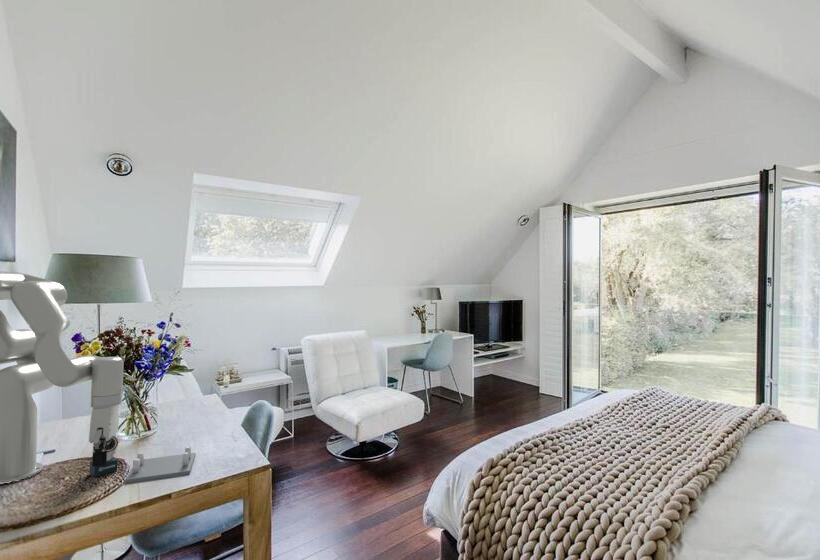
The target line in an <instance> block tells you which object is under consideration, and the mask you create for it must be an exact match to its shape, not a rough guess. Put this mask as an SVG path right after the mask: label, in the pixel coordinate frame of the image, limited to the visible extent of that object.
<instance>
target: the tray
mask: <svg viewBox="0 0 820 560" xmlns="http://www.w3.org/2000/svg"><path fill="white" fill-rule="evenodd" d="M191 447H192V446H186V447H185V448H184V452H183V453H182V454H175V455H167V456H160V457H151V458H145V459H144V457H145V452H142V451H140V452H138V453H137V454H136V456H137V458H134V459H133V460H132V468H131V469H130V471H129V473H128V474H127V476H126V477H125V479H124V484H128V483H129V484H130V483H137V482H144V481H145V482H146V481H151V480H157V479H165V478H166V479H167V478H173V477H178V476H180V477H181V476H184V475H186V476H187V475H190V474H191V471H192V468H193V465H194V462H195V458H196V452H192V451H191V450H192V448H191Z"/></svg>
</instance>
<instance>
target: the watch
mask: <svg viewBox="0 0 820 560" xmlns="http://www.w3.org/2000/svg"><path fill="white" fill-rule="evenodd" d="M101 440H105V439H101ZM119 443H120V440H118V438H117V436H116V437H114V435H113V437H112V438H111V439H110V440H109V441H107V445H106V450H107V462H106V465H103V466H95V467H93V466H92V460H91V461H90V462H89V474H91V475H92V476H93V477H95V478H96V477H98V476H102V475H106V474H109V473H112V472H116V471H118V464H119V462H118V461H119V460H118V459H117V458H116V457H115V456H114V454H115V453H116V452H115V451H116V450H117V448H118V446H119ZM100 444H102V446H103V444H104V443H100ZM106 450H105V451H106Z"/></svg>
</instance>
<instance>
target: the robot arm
mask: <svg viewBox="0 0 820 560" xmlns="http://www.w3.org/2000/svg"><path fill="white" fill-rule="evenodd" d="M0 300H2V301H3V300H6V301H7V300H9V301H10V300H11V302H12V303H13V305H14V307H16V309H17V311H18V312H19V314H20V315H21V317H22V318H23V320H24V321H25V323H26V324H27V326H28V327H29V329H26V328H19V329H14V328H13V327H12V326H11V325H10V323H9V321H8V318H7V317H6V314H4V312H3V311H2V310H1V309H0V365H4V364H11V363H16V365H15V364H13V365H10V366H6V367H4V368H1V369H0V482H9V481H15V480H20V479H24V478H27V477H29V476H32V475H34V474H36V473H38V472H40V471H41V470H42V469H43V470H44V464H43V463H41V462H37V452H38V451H37V446H38V445H37V444H38V443H37V442H38V407H37V404H36V402H35V400H34V399H33V396H32V395H34V394H37V393H40V392H41V393H42V392H44V391H46V390H49V389H51V388H52V387H54V386H56V387H59V388H67V387H68V388H69V387H72V386H75V385H78V384H82V383H84V382H89V381H91V382H90V383H91V386H90V387H91V388H90V408H92V410H91V416H90V424H89V433H88V434H89V436H88V443H89V444H92V445H93V446H92V460H91V461H92V466H93V467H95V466H103V465H106V462H107V450H106V445H107V441H109V440H110V439H111V438H112V437H113V435H114V437H116V438H117V432H118V430H119V423H120V422H119V418H120V416H119V415H120V414H119V413H120V412H119V411H120V409H119V408H120V405H122V404H123V390H124V388H123V387H124V369H125V368H124V365H125V364H124V363H125V362H124V359H123V358H122V357H119V356H104V357H103V356H98V355H91V354H90V355H81V356H77V357H72V358H69V357H68V355H67V353H66V352H65V351H64V349H63V347H62V343H61V339H62V335H63V333H64V331H66V330H67V329H68V328H69V326H71V320H70V319H69V318H68V316H67V315H66V314H65V312H64V310H63V309H62V306H63V305H65V304H66V302H67V301H68V292H67V290H66V288H65V286H63V285H62V284H61V283H59V282H57V281H54V280H50V279H46V278H43V277H39V276H34V275H31V274H26V273H22V272H17V271H16V272H15V271H0ZM101 439H105V440H101ZM100 443H104V444H103V446H102V444H100ZM105 450H106V451H105ZM115 453H116V451H115ZM43 470H42V471H43ZM42 471H41V472H42ZM41 472H40V473H41ZM38 474H39V473H38ZM36 475H37V474H36ZM34 476H35V475H34ZM32 477H33V476H32ZM27 479H28V478H27ZM24 480H25V479H24Z"/></svg>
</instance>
